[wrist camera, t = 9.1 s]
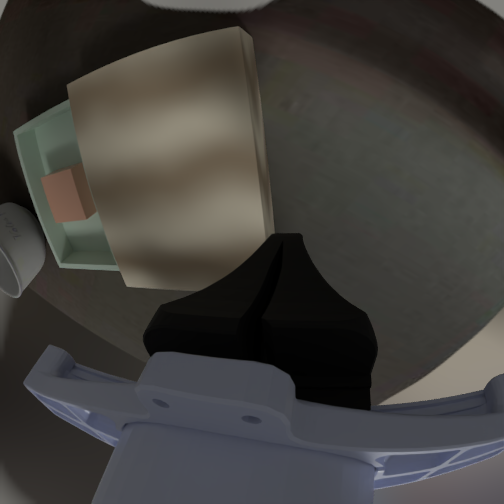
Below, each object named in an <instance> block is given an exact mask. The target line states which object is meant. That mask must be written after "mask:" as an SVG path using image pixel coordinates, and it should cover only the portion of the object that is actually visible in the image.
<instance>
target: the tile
mask: <svg viewBox="0 0 504 504" xmlns="http://www.w3.org/2000/svg"><path fill="white" fill-rule="evenodd" d="M41 182H42V185H43V188H44V191H45V194H46V197H47V200H48V203H49V206H50V209H51V211H52V214H53V217H54V220H55V222H56V223H62V222H70V221H79V220H87V219H88V218H89V217H91V216H92V215H93V214H95V213H96V212H97V210H96V207H95V204H94V201H93V198H92V194H91V191H90V188H89V185H88V181H87V178H86V174H85V171H84V167H83V163H82V162H81V163H77V164H74V165H71V166H67V167H64V168H61V169H58V170H55V171H53V172H51V173H49V174H47V175H45V176H43V177H42V178H41Z"/></svg>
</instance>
